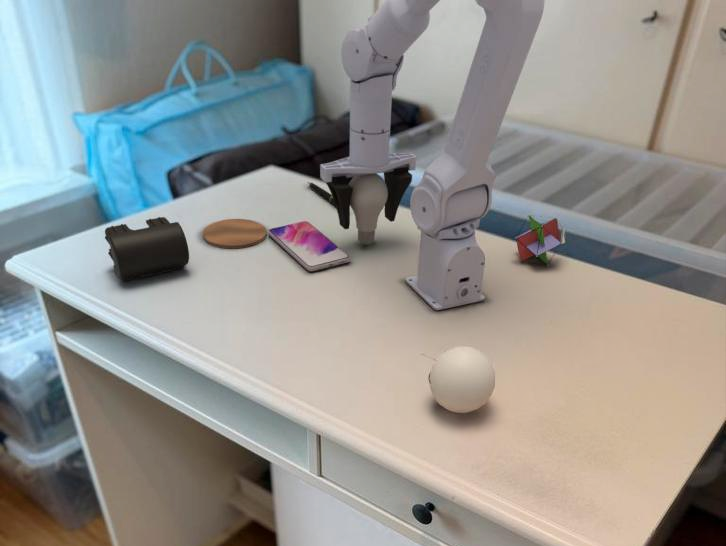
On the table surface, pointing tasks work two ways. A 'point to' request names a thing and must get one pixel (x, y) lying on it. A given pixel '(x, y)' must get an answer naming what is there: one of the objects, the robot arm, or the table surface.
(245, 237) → the copper coaster
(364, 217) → the lightbulb
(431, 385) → the white ball
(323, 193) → the fountain pen
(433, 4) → the robot arm
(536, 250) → the geometric puzzle
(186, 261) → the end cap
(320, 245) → the smartphone
